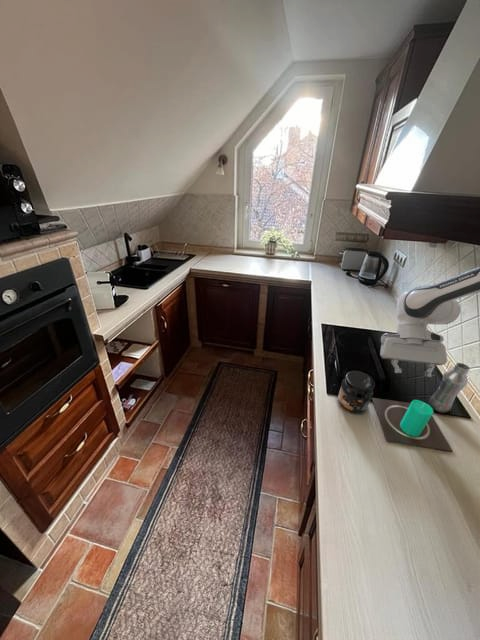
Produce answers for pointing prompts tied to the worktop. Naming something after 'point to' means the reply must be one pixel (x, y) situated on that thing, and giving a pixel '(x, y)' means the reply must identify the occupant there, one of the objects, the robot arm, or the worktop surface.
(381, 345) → the robot arm
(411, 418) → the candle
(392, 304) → the worktop surface
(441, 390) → the plastic bottle
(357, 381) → the supplement container
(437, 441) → the brown square pad
